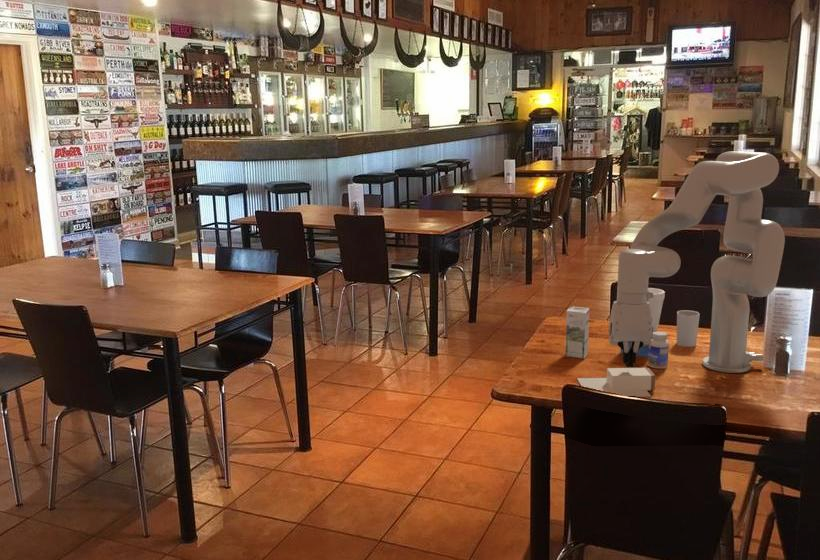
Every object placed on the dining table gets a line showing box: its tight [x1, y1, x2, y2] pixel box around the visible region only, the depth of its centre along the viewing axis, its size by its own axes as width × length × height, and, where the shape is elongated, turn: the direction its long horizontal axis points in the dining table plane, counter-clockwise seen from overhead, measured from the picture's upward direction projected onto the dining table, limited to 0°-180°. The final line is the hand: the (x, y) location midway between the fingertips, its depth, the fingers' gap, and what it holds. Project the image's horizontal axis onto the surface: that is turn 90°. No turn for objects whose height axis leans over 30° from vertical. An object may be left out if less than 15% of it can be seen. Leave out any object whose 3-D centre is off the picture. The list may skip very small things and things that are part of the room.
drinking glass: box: [676, 309, 701, 348], centre depth 230 cm, size 7×7×10 cm
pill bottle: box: [647, 330, 670, 370], centre depth 211 cm, size 5×5×10 cm
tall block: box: [605, 367, 656, 391], centre depth 195 cm, size 4×6×11 cm
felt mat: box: [576, 377, 652, 398], centre depth 196 cm, size 16×13×1 cm
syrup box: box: [565, 306, 590, 360], centre depth 221 cm, size 6×6×14 cm
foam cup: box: [648, 287, 666, 332], centre depth 247 cm, size 10×9×13 cm
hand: (628, 365), depth 194 cm, fingers closed
